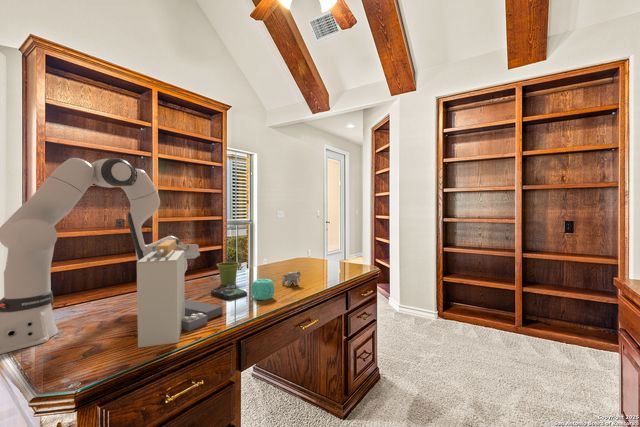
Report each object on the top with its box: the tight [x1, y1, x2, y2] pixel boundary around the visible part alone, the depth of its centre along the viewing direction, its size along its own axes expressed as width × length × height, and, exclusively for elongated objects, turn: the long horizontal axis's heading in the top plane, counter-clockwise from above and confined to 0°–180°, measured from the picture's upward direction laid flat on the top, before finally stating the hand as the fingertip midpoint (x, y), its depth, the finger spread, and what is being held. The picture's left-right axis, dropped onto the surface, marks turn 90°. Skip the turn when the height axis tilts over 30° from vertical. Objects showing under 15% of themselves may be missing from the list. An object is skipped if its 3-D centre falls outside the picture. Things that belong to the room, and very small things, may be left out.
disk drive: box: [210, 286, 248, 301], centre depth 149 cm, size 10×3×15 cm
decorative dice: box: [251, 278, 275, 301], centre depth 145 cm, size 8×8×8 cm
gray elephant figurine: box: [281, 271, 302, 288], centre depth 167 cm, size 9×12×8 cm
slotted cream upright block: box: [136, 250, 186, 349], centre depth 106 cm, size 22×11×27 cm, turn 18°
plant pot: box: [216, 261, 240, 286], centre depth 171 cm, size 12×12×11 cm
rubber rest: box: [185, 299, 223, 321], centre depth 124 cm, size 8×20×3 cm, turn 63°
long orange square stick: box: [156, 240, 176, 256], centre depth 110 cm, size 30×3×3 cm, turn 18°
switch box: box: [182, 313, 208, 332], centre depth 111 cm, size 8×5×4 cm, turn 153°
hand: (169, 244), depth 120 cm, fingers open, 6 cm apart
